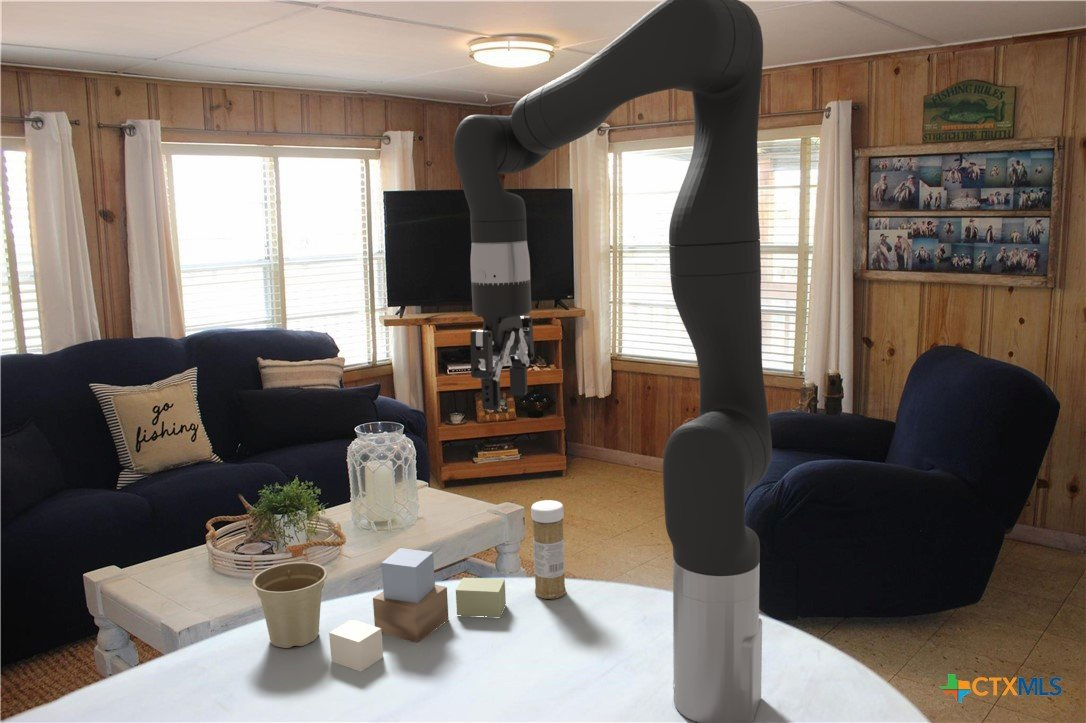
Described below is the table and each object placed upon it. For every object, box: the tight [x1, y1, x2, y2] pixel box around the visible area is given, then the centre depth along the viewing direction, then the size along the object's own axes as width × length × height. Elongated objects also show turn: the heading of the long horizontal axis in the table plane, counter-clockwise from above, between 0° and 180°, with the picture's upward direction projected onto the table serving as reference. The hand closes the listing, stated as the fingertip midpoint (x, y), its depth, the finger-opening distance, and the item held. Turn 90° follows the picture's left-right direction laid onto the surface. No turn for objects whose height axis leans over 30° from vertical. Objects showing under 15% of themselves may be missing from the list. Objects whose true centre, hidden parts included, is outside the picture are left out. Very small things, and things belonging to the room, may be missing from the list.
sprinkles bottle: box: [530, 499, 567, 600], centre depth 128 cm, size 5×5×13 cm
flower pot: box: [252, 561, 328, 649], centre depth 118 cm, size 9×9×9 cm
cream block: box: [328, 619, 384, 672], centre depth 112 cm, size 5×4×4 cm
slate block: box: [381, 547, 436, 603], centre depth 119 cm, size 5×5×5 cm
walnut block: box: [372, 583, 450, 644], centre depth 120 cm, size 7×7×5 cm
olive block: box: [455, 577, 507, 618], centre depth 124 cm, size 6×4×4 cm, turn 80°
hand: (505, 401), depth 117 cm, fingers open, 8 cm apart
